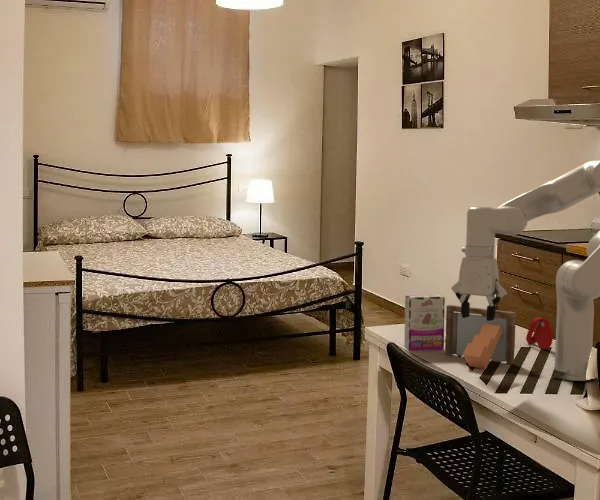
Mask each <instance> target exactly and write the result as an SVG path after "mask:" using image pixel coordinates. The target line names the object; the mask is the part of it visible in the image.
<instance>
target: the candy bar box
mask: <svg viewBox="0 0 600 500" xmlns="http://www.w3.org/2000/svg"><path fill="white" fill-rule="evenodd" d="M445 298H446V297H445V296H443V295H441V294H433V295H432V294H431V295H430V294H427V295H425V294H424V295H405V296H404V345H403V346H404V348H405V349H407V350H408V351H445V342H444V333H445V308H446V307H445V305H446V304H445V303H446V302H445V301H446V299H445Z"/></svg>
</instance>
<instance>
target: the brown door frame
mask: <svg viewBox="0 0 600 500" xmlns="http://www.w3.org/2000/svg"><path fill="white" fill-rule="evenodd" d="M445 308H446V311H445V312H446V313H445V317H446V318H445V333H446V338H445V342H444V355H446V356H451V355H453V354H452V343H453V313H461V305H455V304H448V305H446V307H445ZM469 314H472V315H480V316H481V315H487V308H481V307H472V306H470V313H469ZM495 316H496V317H504V318H506V319H508V329H507V355H506V362H505V365H509V366H512V365H514V364H515V344H516V340H515V339H516V319H517V312H516V311H507V310H506V311H505V310H500V309H499V310H495Z"/></svg>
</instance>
